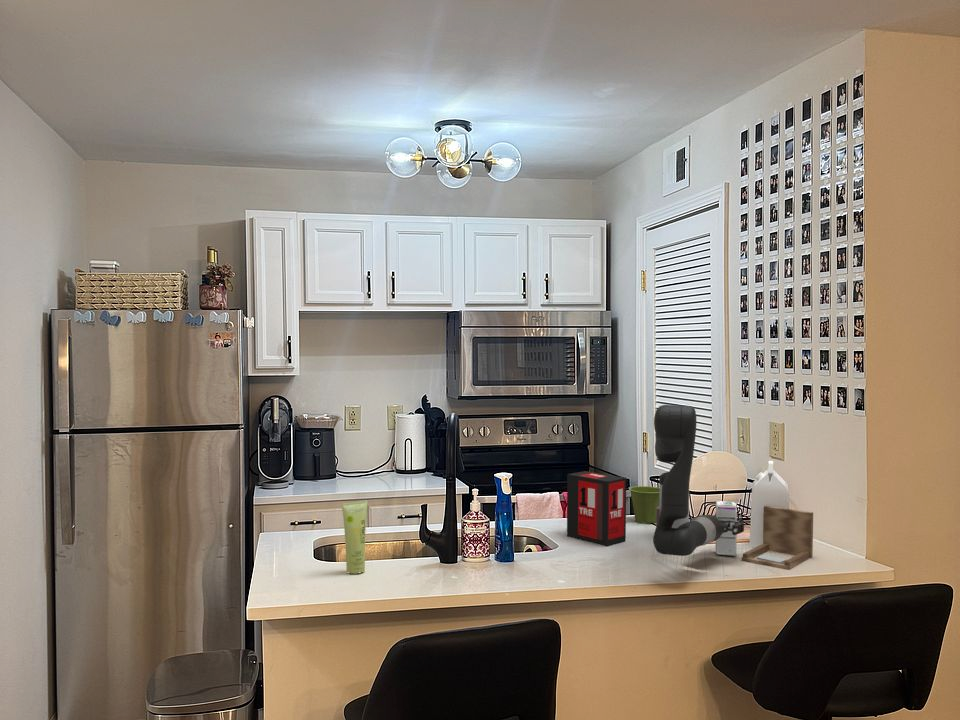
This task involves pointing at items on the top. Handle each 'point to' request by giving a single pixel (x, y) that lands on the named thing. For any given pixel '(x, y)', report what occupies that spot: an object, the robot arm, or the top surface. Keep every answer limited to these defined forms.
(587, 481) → the cleaning product box
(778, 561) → the grey offcut
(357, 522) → the tube
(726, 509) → the syrup box
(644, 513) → the plant pot
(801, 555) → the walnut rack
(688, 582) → the top surface
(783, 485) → the milk
